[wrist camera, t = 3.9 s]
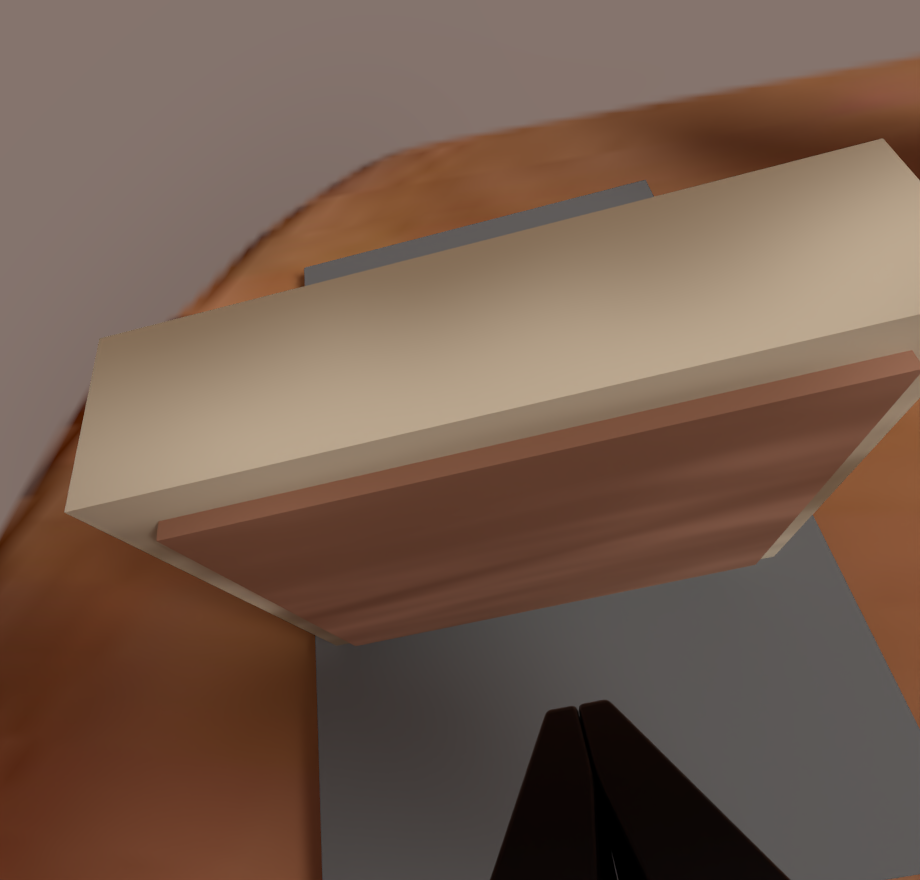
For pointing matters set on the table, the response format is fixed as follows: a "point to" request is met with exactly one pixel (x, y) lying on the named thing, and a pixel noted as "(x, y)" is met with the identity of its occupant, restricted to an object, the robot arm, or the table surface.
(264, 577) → the small wooden box
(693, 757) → the rubber mat
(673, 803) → the robot arm
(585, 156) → the table surface
